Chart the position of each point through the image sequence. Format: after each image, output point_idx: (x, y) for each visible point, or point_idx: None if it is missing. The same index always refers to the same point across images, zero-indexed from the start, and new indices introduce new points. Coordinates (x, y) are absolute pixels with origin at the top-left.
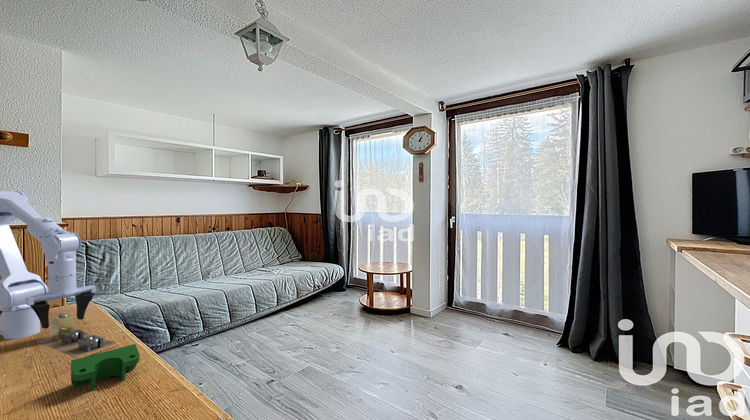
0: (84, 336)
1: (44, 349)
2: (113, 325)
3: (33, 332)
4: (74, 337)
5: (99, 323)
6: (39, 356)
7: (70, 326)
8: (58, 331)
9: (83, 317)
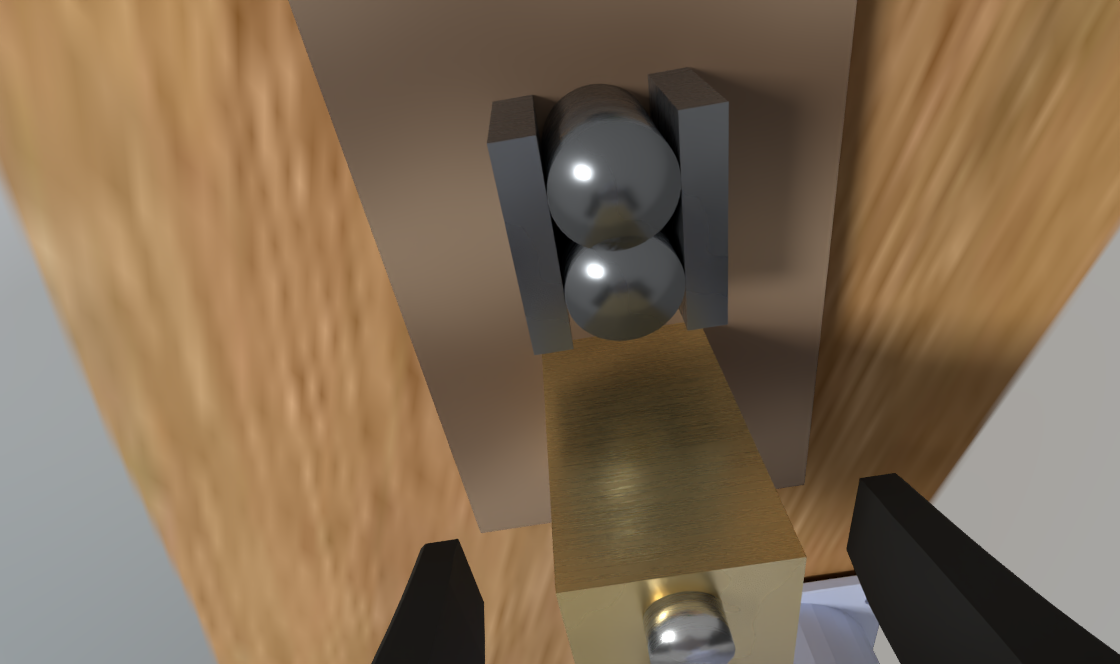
0: (460, 250)
1: None
2: (159, 474)
3: None
4: (620, 103)
5: (288, 599)
6: (966, 38)
7: (597, 442)
8: (733, 402)
9: (418, 562)
